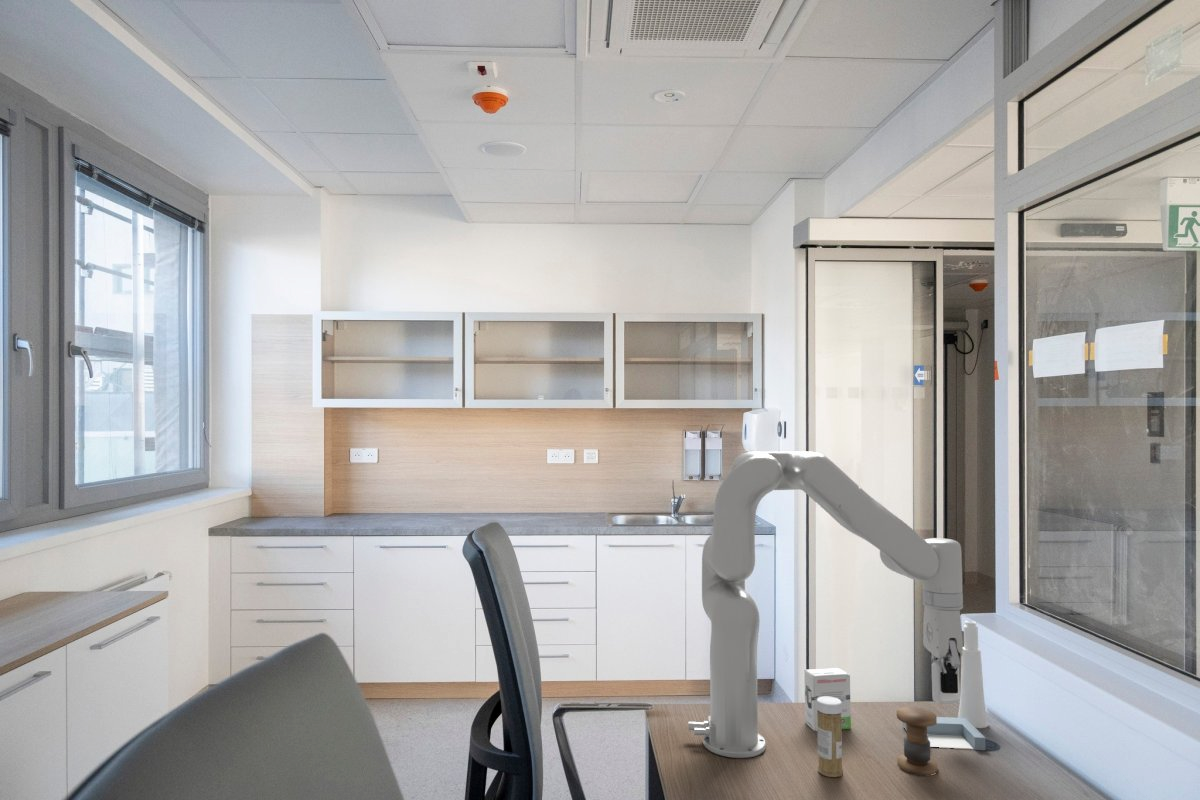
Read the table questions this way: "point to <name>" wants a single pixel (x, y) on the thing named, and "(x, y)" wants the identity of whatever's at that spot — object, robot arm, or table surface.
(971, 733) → the notched board
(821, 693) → the ink box
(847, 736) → the table surface
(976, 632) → the cosmetic bottle
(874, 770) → the table surface
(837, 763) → the sprinkles bottle
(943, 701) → the eye dropper bottle
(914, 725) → the spool
